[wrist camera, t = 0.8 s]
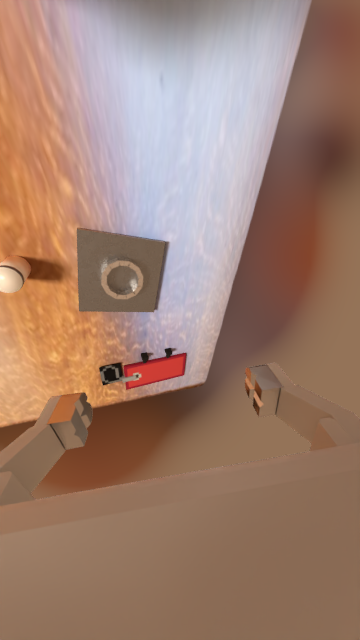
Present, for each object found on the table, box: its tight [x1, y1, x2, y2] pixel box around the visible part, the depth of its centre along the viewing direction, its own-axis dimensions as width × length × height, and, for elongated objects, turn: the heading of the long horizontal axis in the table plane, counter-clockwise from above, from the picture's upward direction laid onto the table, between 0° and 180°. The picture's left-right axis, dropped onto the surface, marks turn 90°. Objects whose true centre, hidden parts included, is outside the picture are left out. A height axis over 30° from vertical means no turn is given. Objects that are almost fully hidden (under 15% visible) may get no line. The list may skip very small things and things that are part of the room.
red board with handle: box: [99, 348, 186, 390], centre depth 75 cm, size 30×3×15 cm
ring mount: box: [77, 228, 166, 312], centre depth 53 cm, size 20×20×4 cm
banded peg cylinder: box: [0, 255, 31, 293], centre depth 43 cm, size 5×5×8 cm
